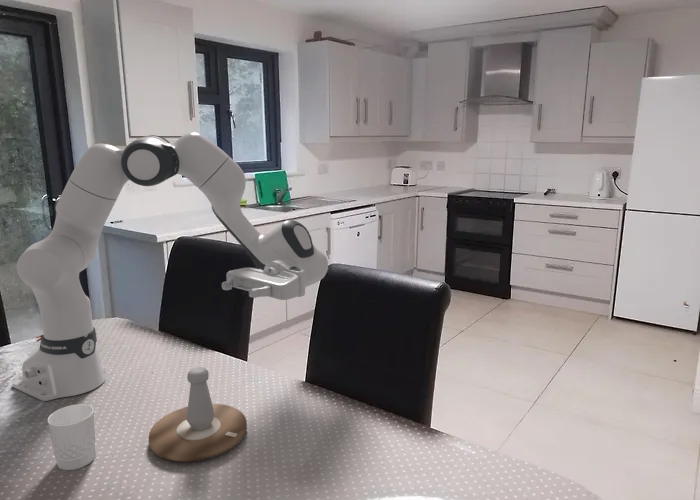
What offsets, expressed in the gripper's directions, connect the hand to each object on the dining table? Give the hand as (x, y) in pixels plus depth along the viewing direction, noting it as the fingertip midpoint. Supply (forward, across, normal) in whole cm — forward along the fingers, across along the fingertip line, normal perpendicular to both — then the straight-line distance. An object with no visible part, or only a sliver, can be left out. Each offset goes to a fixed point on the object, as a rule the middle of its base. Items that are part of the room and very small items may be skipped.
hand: (237, 290), depth 117 cm
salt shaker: (+15, +4, +26) cm, 30 cm away
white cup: (+35, -8, +28) cm, 46 cm away
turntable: (+16, +4, +28) cm, 32 cm away
